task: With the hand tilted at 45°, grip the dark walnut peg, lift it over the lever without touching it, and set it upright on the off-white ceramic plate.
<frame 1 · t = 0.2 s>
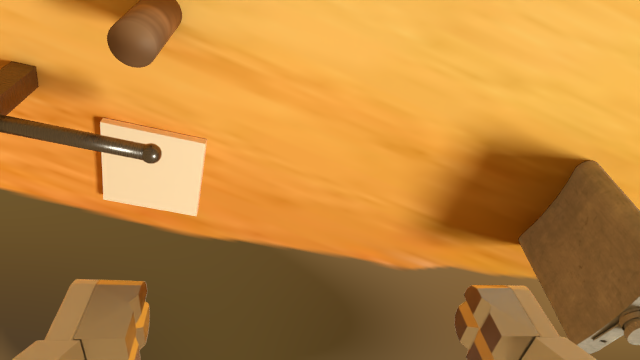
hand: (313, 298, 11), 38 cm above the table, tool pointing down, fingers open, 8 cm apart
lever: (106, 92, 49), on the table
plate: (154, 168, 56), on the table
hip flask: (558, 206, 61), on the table
walnut peg: (161, 11, 44), on the table
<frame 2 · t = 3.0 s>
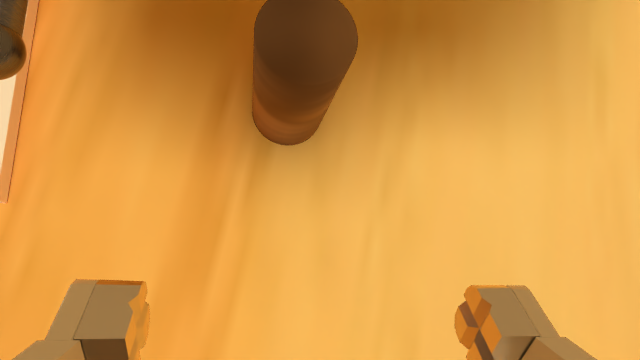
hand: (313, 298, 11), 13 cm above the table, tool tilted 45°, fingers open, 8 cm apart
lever: (106, 4, 25), on the table
walnut peg: (287, 111, 26), on the table
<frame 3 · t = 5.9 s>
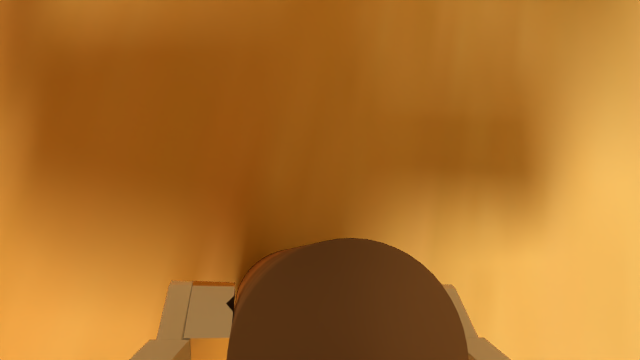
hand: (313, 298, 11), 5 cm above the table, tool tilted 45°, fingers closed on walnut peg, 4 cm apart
walnut peg: (291, 306, 16), on the table, touching gripper
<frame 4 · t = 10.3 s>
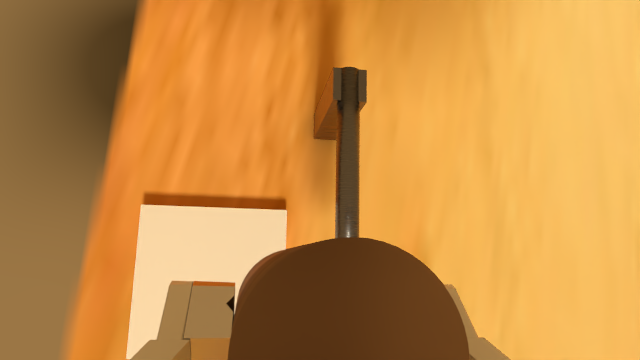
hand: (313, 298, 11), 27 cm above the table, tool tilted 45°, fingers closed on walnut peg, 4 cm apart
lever: (325, 218, 39), on the table
plate: (212, 280, 37), on the table
walnut peg: (293, 305, 16), point 22 cm above the table, touching gripper
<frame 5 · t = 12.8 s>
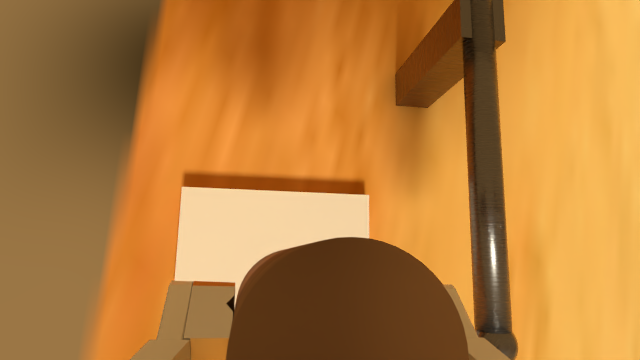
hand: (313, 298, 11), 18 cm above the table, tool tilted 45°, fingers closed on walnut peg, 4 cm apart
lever: (413, 206, 31), on the table
plate: (274, 286, 28), on the table
walnut peg: (292, 305, 16), point 13 cm above the table, touching gripper
when the fingers open (7 cm above the table, at t = 15.0 s): walnut peg drops 1 cm, resting on plate.
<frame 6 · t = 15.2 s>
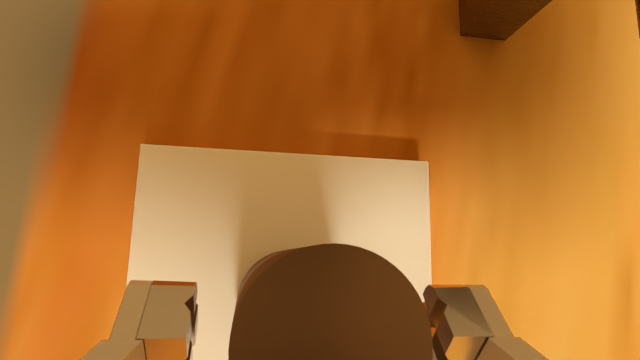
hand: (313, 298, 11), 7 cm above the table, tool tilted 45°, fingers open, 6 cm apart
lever: (490, 180, 21), on the table
plate: (284, 300, 18), on the table
walnut peg: (288, 301, 17), point 1 cm above the table, touching plate
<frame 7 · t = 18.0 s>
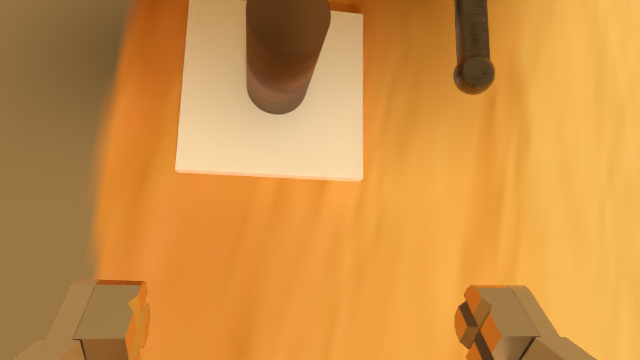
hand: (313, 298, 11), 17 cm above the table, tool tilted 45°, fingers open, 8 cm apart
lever: (404, 32, 33), on the table
plate: (274, 91, 30), on the table
walnut peg: (276, 85, 29), point 1 cm above the table, touching plate
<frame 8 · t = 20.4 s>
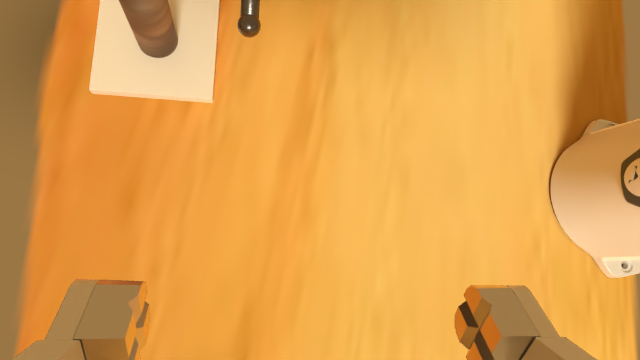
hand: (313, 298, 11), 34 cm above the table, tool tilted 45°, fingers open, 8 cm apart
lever: (251, 8, 49), on the table
plate: (159, 44, 47), on the table
walnut peg: (157, 40, 46), point 1 cm above the table, touching plate
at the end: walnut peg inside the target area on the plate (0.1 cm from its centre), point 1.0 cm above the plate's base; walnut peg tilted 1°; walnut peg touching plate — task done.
